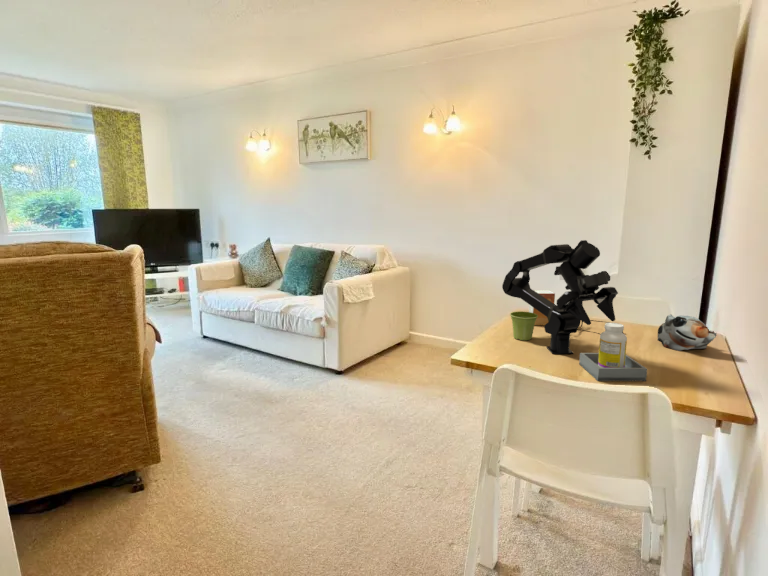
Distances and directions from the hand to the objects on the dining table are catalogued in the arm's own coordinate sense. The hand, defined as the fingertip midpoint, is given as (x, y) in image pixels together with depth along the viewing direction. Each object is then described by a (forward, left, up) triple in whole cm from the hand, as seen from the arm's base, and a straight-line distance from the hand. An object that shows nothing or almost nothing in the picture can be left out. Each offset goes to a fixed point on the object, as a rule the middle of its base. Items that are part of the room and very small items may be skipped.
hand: (602, 322), depth 124 cm
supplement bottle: (+4, +2, -13) cm, 13 cm away
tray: (+4, +2, -13) cm, 14 cm away
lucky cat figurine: (-17, +35, -14) cm, 41 cm away
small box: (-47, -2, -14) cm, 49 cm away
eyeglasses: (-32, +13, -14) cm, 37 cm away
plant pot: (-28, -14, -14) cm, 34 cm away
